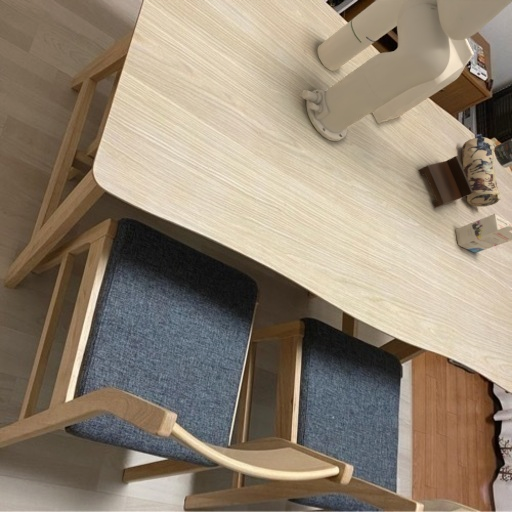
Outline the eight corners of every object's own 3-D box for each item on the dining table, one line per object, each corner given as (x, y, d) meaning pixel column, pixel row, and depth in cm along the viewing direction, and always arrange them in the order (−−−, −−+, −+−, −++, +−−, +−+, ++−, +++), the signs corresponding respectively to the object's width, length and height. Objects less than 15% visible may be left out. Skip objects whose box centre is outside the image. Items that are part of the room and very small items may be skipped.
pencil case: (455, 142, 171) (485, 127, 164) (471, 155, 176) (501, 141, 169) (461, 204, 161) (493, 190, 154) (478, 215, 166) (510, 203, 159)
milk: (398, 117, 154) (487, 64, 135) (377, 123, 145) (469, 68, 127) (379, 76, 154) (465, 18, 135) (357, 81, 145) (446, 19, 127)
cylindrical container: (338, 75, 140) (424, 14, 123) (317, 62, 136) (403, -4, 119) (337, 53, 143) (420, -11, 126) (316, 39, 139) (400, -28, 122)
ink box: (472, 237, 159) (523, 218, 149) (475, 253, 157) (526, 235, 147) (454, 228, 154) (506, 208, 144) (457, 245, 152) (509, 226, 142)
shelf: (434, 208, 151) (454, 199, 146) (418, 170, 151) (437, 160, 147) (454, 201, 159) (473, 192, 155) (438, 164, 160) (457, 155, 156)
